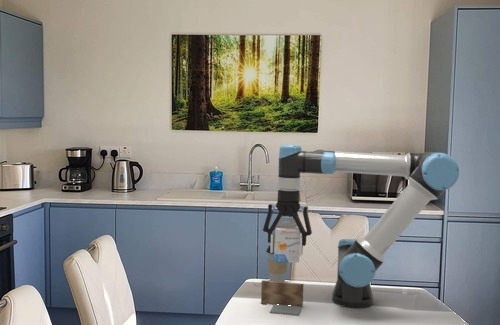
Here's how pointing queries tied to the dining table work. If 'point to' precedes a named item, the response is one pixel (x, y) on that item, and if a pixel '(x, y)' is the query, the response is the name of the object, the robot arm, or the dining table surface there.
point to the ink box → (286, 241)
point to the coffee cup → (276, 268)
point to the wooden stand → (282, 293)
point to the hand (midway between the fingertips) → (286, 253)
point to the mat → (286, 309)
